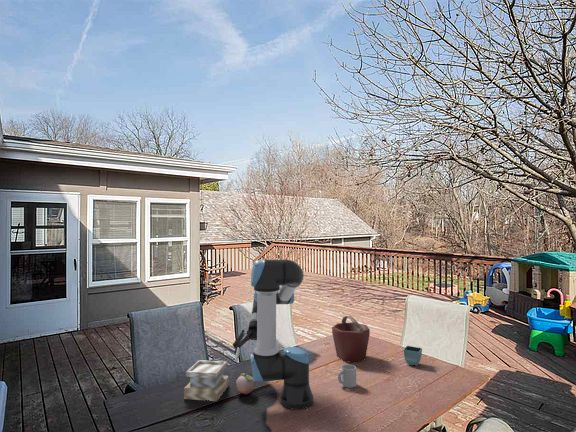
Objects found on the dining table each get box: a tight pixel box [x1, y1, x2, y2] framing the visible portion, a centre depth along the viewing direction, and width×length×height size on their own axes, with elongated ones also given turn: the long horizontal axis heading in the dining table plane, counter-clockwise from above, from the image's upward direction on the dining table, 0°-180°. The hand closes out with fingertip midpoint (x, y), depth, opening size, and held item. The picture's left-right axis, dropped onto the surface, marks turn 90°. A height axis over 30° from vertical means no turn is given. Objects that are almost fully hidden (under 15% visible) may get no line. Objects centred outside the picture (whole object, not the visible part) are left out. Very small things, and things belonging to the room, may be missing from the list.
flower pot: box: [403, 345, 423, 367], centre depth 201 cm, size 9×9×9 cm
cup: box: [337, 363, 357, 389], centre depth 173 cm, size 7×10×9 cm
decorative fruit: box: [235, 372, 256, 396], centre depth 164 cm, size 9×8×10 cm
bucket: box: [331, 315, 371, 363], centre depth 213 cm, size 24×22×25 cm
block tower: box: [183, 359, 229, 402], centre depth 166 cm, size 16×16×12 cm
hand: (249, 361), depth 172 cm, fingers open, 13 cm apart
